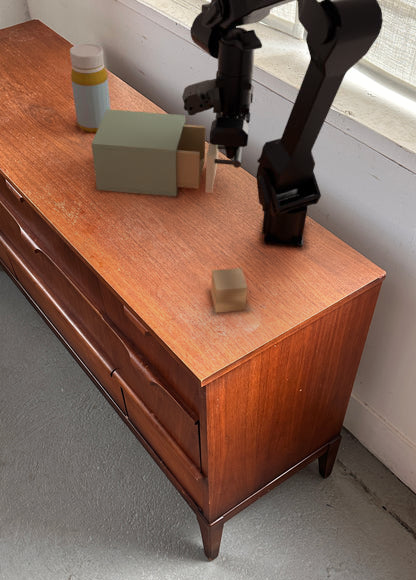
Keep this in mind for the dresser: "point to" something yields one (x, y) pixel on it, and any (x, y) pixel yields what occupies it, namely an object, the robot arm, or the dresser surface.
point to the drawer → (199, 158)
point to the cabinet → (137, 152)
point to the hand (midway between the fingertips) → (230, 157)
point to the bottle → (89, 86)
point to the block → (228, 290)
